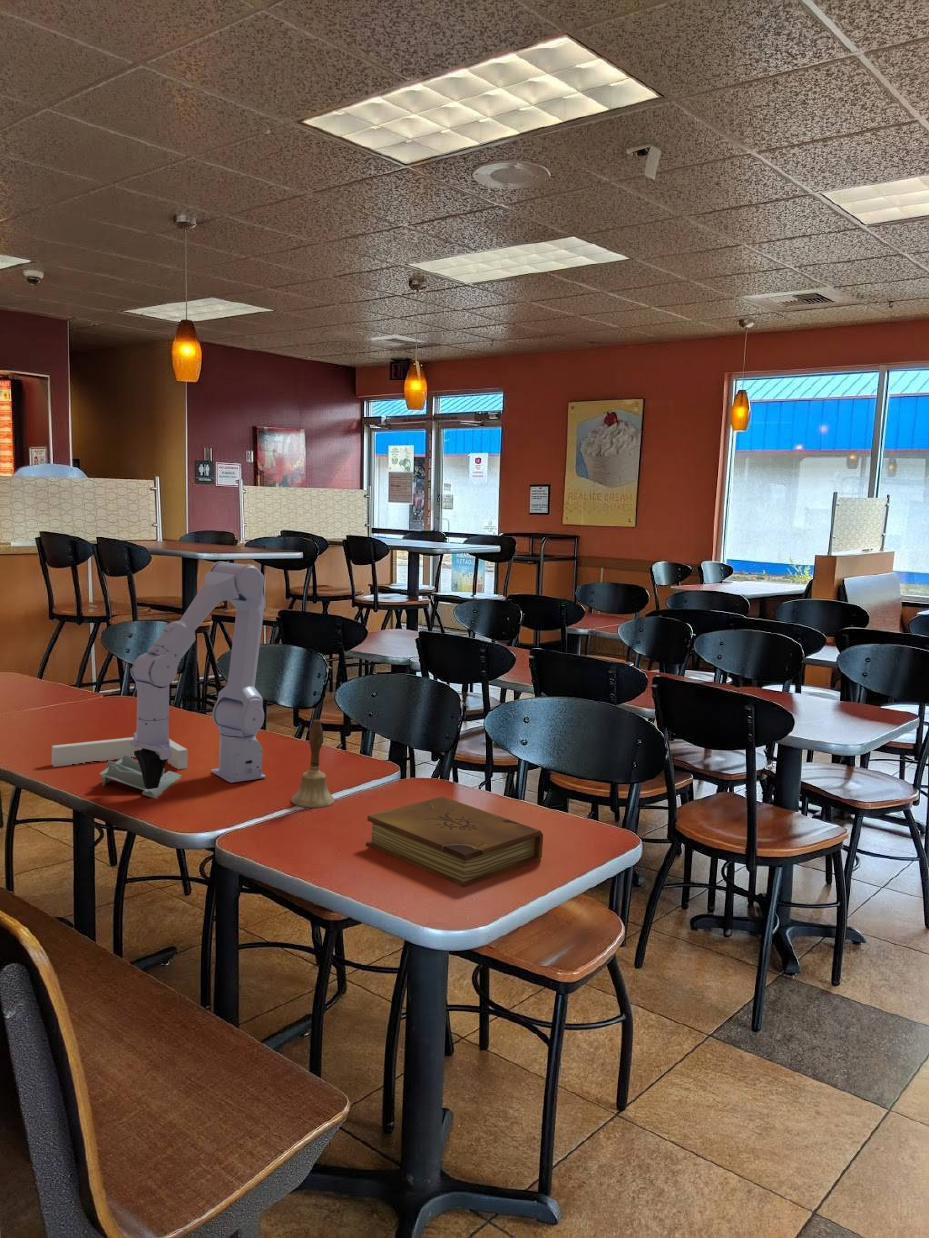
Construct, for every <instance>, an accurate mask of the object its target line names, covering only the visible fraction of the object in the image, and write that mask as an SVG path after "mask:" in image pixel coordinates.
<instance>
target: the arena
mask: <svg viewBox="0 0 929 1238" xmlns="http://www.w3.org/2000/svg"><path fill="white" fill-rule="evenodd" d="M168 739H169V741H170V747H171V748H172V759H168V761H167V762H168V763H167V762H166V763H167V764H169V765H170V764H171V765H170V766H172V767H173V768H175V769H176V768H177V770H183V769H188V748H186V747H184V746H182V745H180V744H179V743H177V742H175V741H174V740H173V739H170V738H168ZM131 741H134V736H132V737H122V738H113V739H102V740H94V741H85V742H84V741H83V742H74V743H66V744H55V745H51V765H52V767H53V768H56V767H64V766H73V765H72V764H75V765H80V764H79V763H83V764H86V763H85V762H91V761H100V762H108V761H114V760H115V759H116V760H120V759H123V757H124V756H125V755H129V756H130V757H132V758H133V759H134V758H136V756H135V755H134V751H137V750H142V748H140V747H132V746H131V745H130V742H131ZM107 760H108V761H107ZM91 763H92V762H91Z"/></svg>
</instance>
